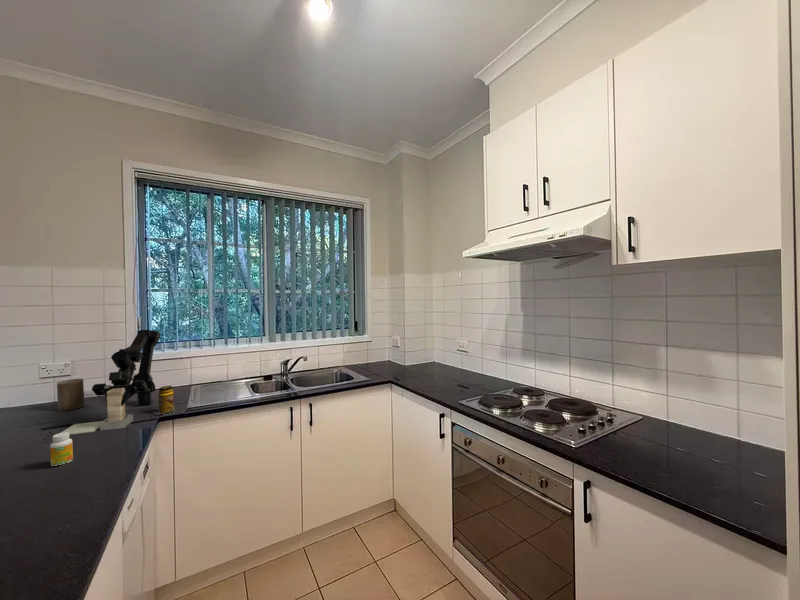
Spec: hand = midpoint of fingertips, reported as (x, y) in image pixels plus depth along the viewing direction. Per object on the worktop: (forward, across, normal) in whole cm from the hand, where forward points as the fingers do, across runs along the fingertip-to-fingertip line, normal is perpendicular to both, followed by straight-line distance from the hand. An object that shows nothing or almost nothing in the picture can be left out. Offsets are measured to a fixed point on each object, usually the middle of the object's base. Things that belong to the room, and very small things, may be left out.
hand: (114, 405), depth 146 cm
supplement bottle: (+30, -2, -17) cm, 34 cm away
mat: (+5, -12, +8) cm, 15 cm away
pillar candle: (-20, -33, +33) cm, 51 cm away
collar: (+5, 0, +7) cm, 9 cm away
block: (+4, 0, +6) cm, 7 cm away
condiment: (-3, +14, +16) cm, 22 cm away
